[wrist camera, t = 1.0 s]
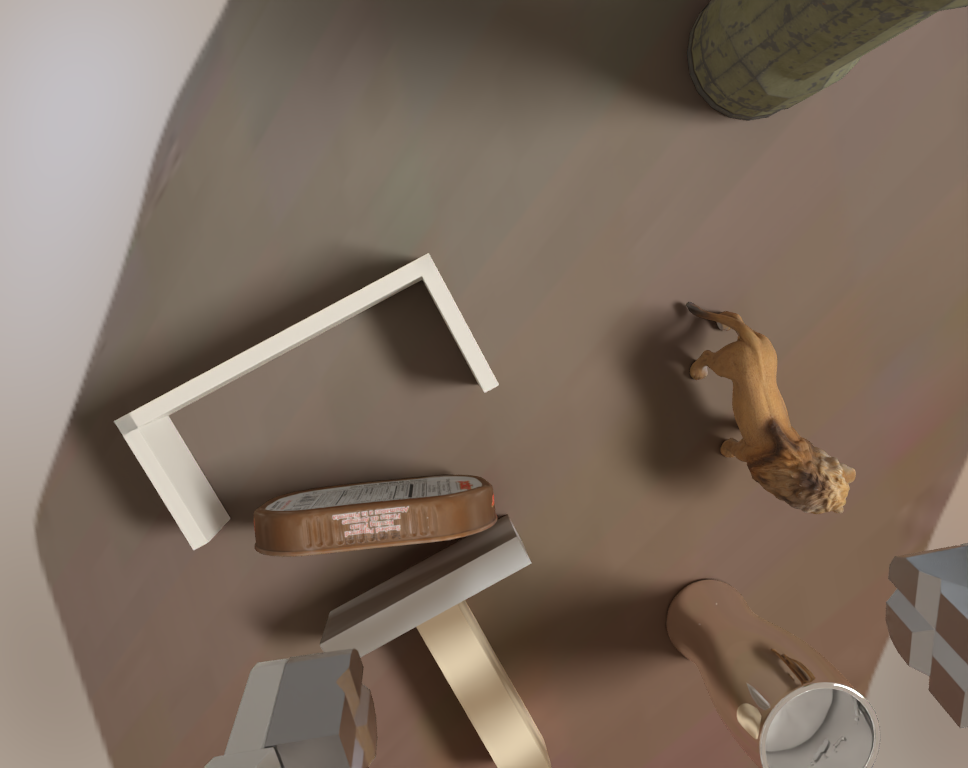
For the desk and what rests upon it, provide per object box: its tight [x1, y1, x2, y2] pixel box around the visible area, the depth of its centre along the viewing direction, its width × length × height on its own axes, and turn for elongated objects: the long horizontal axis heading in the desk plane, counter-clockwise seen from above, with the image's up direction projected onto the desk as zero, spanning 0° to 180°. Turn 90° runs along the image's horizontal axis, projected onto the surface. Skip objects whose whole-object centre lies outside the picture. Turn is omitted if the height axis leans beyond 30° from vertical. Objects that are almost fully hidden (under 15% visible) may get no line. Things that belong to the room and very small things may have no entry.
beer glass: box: [666, 579, 880, 768], centre depth 44 cm, size 7×7×15 cm
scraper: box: [320, 514, 552, 768], centre depth 48 cm, size 16×14×5 cm
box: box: [114, 253, 499, 550], centre depth 45 cm, size 9×21×5 cm, turn 118°
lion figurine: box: [686, 302, 856, 514], centre depth 46 cm, size 15×5×9 cm, turn 29°
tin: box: [254, 475, 497, 557], centre depth 45 cm, size 15×3×8 cm, turn 95°
